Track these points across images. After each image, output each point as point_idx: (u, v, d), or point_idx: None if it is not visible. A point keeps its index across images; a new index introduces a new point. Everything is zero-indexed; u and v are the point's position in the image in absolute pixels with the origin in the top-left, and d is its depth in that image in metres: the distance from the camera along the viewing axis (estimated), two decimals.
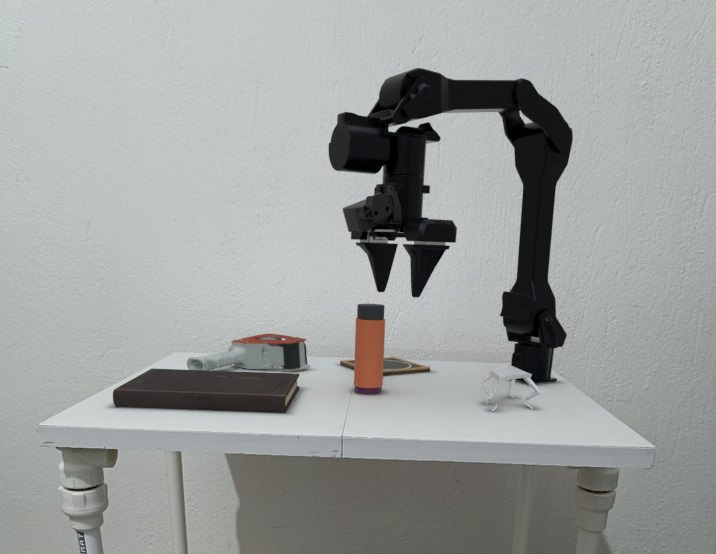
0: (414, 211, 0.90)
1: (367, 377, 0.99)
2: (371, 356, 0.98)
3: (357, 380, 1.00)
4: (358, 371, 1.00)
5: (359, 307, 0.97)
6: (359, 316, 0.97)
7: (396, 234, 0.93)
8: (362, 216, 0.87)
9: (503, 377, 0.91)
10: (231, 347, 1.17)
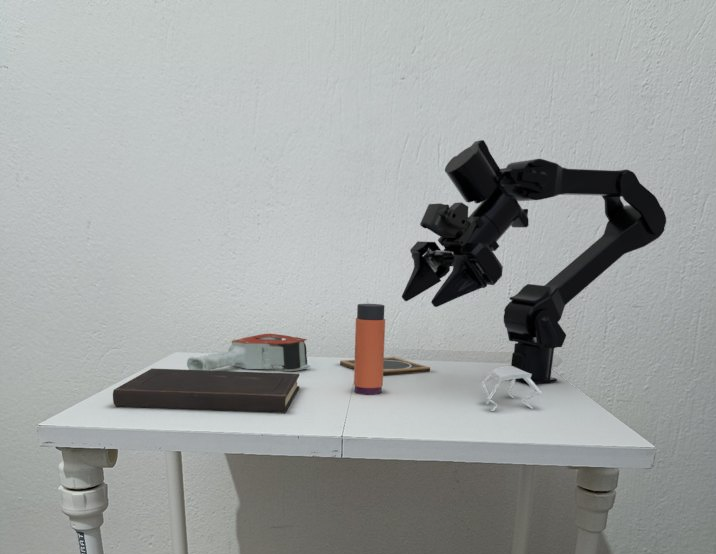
0: None
1: (367, 377, 0.99)
2: (371, 356, 0.98)
3: (357, 380, 1.00)
4: (358, 371, 1.00)
5: (359, 307, 0.97)
6: (359, 316, 0.97)
7: (450, 260, 1.01)
8: (442, 211, 0.95)
9: (503, 377, 0.91)
10: (231, 347, 1.17)
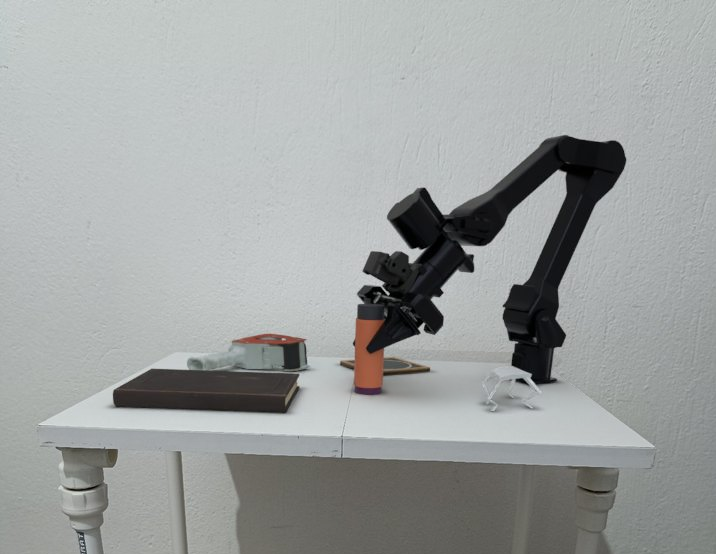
0: None
1: (367, 377, 0.99)
2: (371, 356, 0.98)
3: (357, 380, 1.00)
4: (358, 371, 1.00)
5: (359, 307, 0.97)
6: (359, 316, 0.97)
7: None
8: (382, 260, 0.93)
9: (503, 377, 0.91)
10: (231, 347, 1.17)
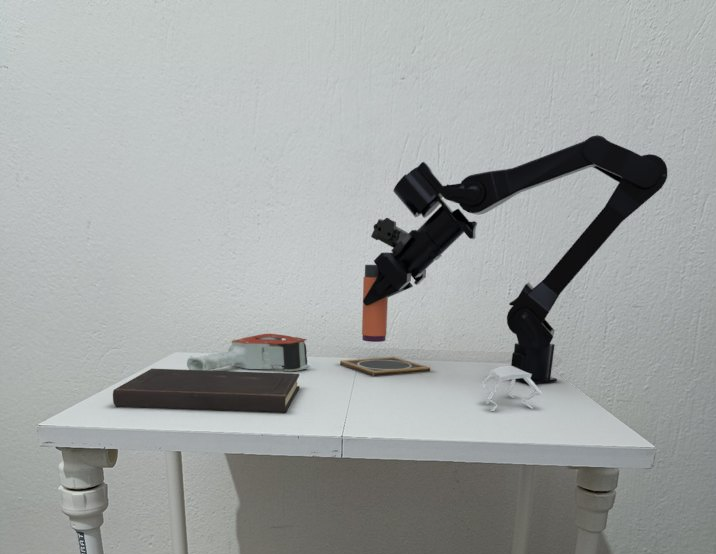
0: (411, 258, 1.11)
1: (365, 326, 1.18)
2: (368, 308, 1.17)
3: (362, 328, 1.20)
4: (362, 321, 1.19)
5: None
6: None
7: None
8: None
9: (503, 377, 0.91)
10: (231, 347, 1.17)
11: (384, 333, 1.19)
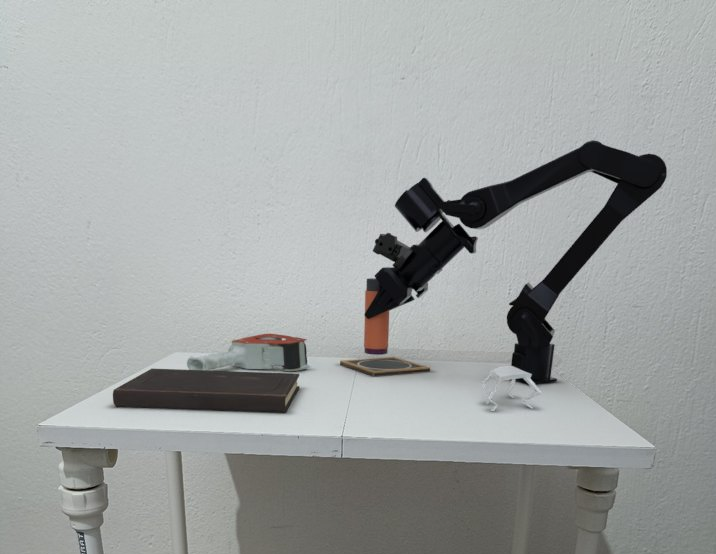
0: (412, 272, 1.12)
1: (367, 339, 1.19)
2: (370, 322, 1.18)
3: (364, 341, 1.21)
4: (364, 334, 1.20)
5: None
6: (366, 288, 1.18)
7: None
8: None
9: (503, 377, 0.91)
10: (231, 347, 1.17)
11: (386, 346, 1.20)
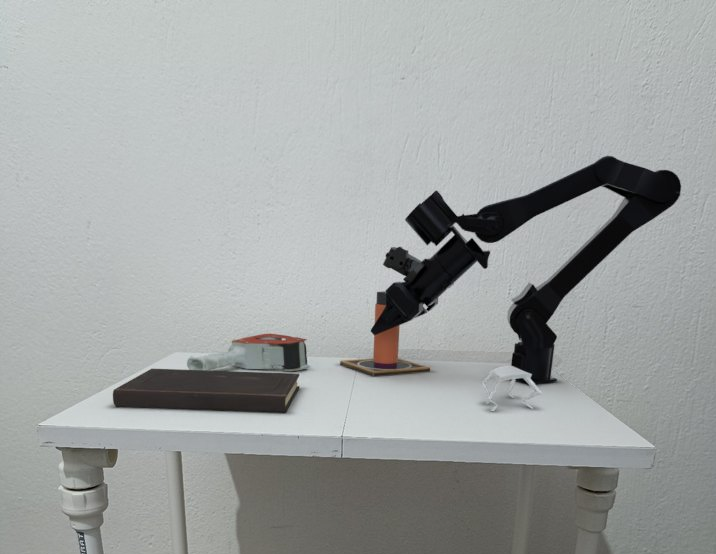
0: (423, 287, 1.10)
1: (377, 353, 1.17)
2: (379, 336, 1.16)
3: (373, 355, 1.18)
4: None
5: None
6: None
7: None
8: None
9: (503, 377, 0.91)
10: (231, 347, 1.17)
11: (396, 360, 1.18)
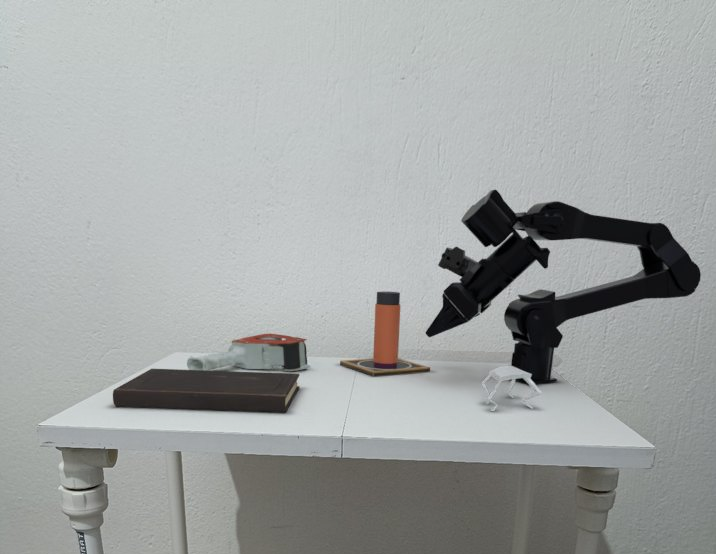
0: (480, 287, 1.07)
1: (377, 353, 1.17)
2: (379, 336, 1.16)
3: (373, 355, 1.18)
4: None
5: None
6: None
7: None
8: (442, 254, 1.08)
9: (503, 377, 0.91)
10: (231, 347, 1.17)
11: (396, 360, 1.18)
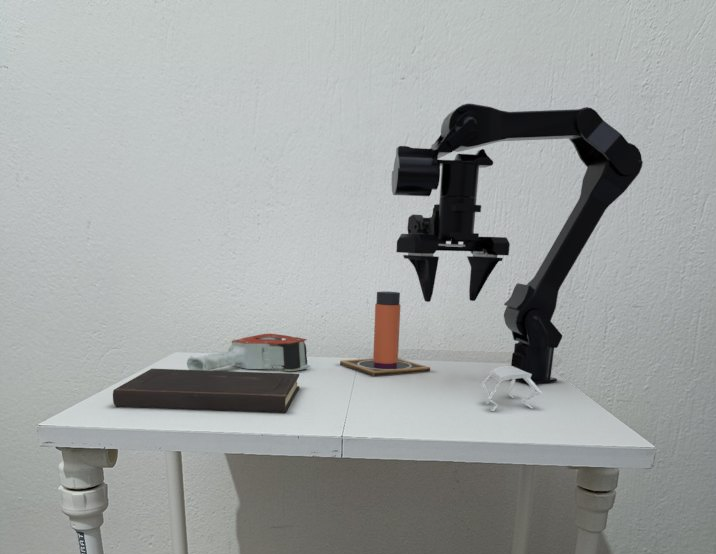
0: (442, 227, 1.03)
1: (377, 353, 1.17)
2: (379, 336, 1.16)
3: (373, 355, 1.18)
4: None
5: None
6: None
7: None
8: None
9: (503, 377, 0.91)
10: (231, 347, 1.17)
11: (396, 360, 1.18)
